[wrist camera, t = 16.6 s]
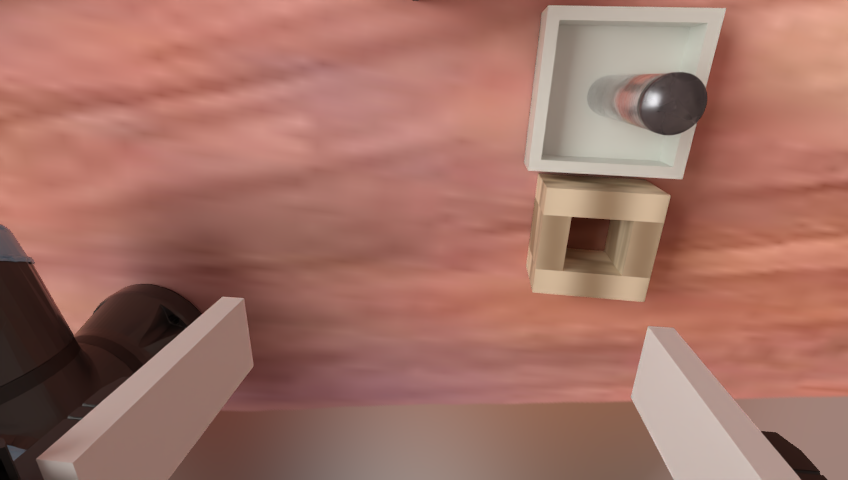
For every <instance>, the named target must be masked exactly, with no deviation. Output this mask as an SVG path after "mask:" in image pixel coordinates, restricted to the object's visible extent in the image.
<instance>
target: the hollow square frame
mask: <svg viewBox="0 0 848 480" xmlns="http://www.w3.org/2000/svg"><path fill="white" fill-rule="evenodd" d="M670 197H671V195H669V194H668V193H666V192H664V191H663V190H661V189H659V188H658V187H656V186H655V185H653V184H651V183H650V182H648V181H646V180H644V179H627V178H609V177H592V176H575V175H557V174H540V173H538V179H537V187H536V195H535V202H534V210H533V218H532V225H531V233H530V241H529V248H528V256H527V263H526V268H527V272H528V276H529V280H530V284H531V288H532V292H534V293H546V294H557V295H569V296H581V297H592V298H604V299H615V300H627V301H638V302H644V301H645V297H646V293H647V289H648V285H649V281H650V277H651V273H652V269H653V265H654V261H655V257H656V253H657V249H658V245H659V241H660V237H661V233H662V229H663V225H664V221H665V217H666V213H667V209H668V205H669V201H670ZM572 217H583V218H597V219H610V224H609V229H608V234H607V239H606V244H605V249H604V251H599V250H586V249H573V248H567V242H568V236H569V230H570V224H571V218H572Z"/></svg>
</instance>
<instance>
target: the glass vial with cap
mask: <svg viewBox="0 0 848 480" xmlns="http://www.w3.org/2000/svg"><path fill="white" fill-rule="evenodd" d="M587 102H588V105H589V107H590V109H591V110H592V111H593V112H594V113H596V114H598V115H601V116H605V117H608V118H611V119H615V120H618V121H621V122H624V123H628V124H631V125H634V126H637V127H641V128H644V129H647V130H649V131H652V132H654V133H657V134H661V135H676V134H680V133H682V132H685V131H686V130H688V129H690V128H691V127H692V126H694V125H695V124H696V123H697V122H698V120H699V119H700V118H701V116H702V115H703V113H704V111H705V108H706V104H707V92H706V88H705V86H704V84H703V83H702V81H701V80H700V79H699V78H698V77H696V76H695V75H693V74H690V73H686V72H670V73H662V74H628V75H606V76H602V77H600V78H599V79H597V80H596V81H595V82H594V83H593V84H592V85H591V87H590V88H589V91H588V94H587Z"/></svg>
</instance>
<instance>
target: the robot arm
mask: <svg viewBox="0 0 848 480" xmlns="http://www.w3.org/2000/svg"><path fill="white" fill-rule="evenodd" d="M34 263H35V262H34V260H33V259H32V258H30V257H28V256H27V255H26V253H25V252H24V250H23V249H22V247H21V246H20V244H19V243H18V241H17V240H16V238H15V236H14V235H13V233H12V232H11V231H10V230H9V229H8V228H7V227H5V226H3V225H1V224H0V480H168V479H169V477H170V476H171V475H172V474H173V472H174V471H175V470H176V468H177V467H178V466H179V464H180V463H181V461H182V460H183V459H184V458H185V456H186V455H187V454H188V452H189V451H190V450H191V448H192V447H193V446H194V444H195V443H196V442H197V440H198V439H199V438H200V437H201V435H202V434H203V432H204V431H205V430H206V429H207V427H208V426H209V425H210V423H211V422H212V421H213V419H214V418H215V417H216V415H217V414H218V412H219V411H220V410H221V409H222V407H223V406H224V405H225V403H226V402H227V401H228V400H229V398H230V397H231V396H232V394H233V393H234V392H235V390H236V389H237V388H238V386H239V385H240V384H241V382H242V381H243V380H244V378H245V377H246V376H247V374H248V373H249V372H250V370H251V369H252V368H253V366H254V364H253V357H252V350H251V343H250V336H249V329H248V322H247V315H246V308H245V301H244V298H236V297H221V298H220V299H219V300H218V301H217V302H216V303H215V304H213V305H212V306H211V307H210V308H209V309H208V310H206V311H205V312H204V313H203V314H202V315H201V313H200V312H199V311H198V310H197V309H196V308H195V307H194V306H193V305H192V304H191V303H190V302H188V301H187V300H186V299H184V298H183V297H181V296H180V295H178V294H176V293H174V292H172V291H170V290H168V289H165V288H162V287H159V286H155V285H148V284H138V285H132V286H128V287H125V288H123V289H121V290H120V291H118V292H116V293H114V294H113V295H111V296H109V297H108V298H106V299H105V300H104V301H103V302H101V303H100V305H99V306H98V307H97V308H96V310H95V311H94V313H93V315H92V316H91V317H90V318H89V319H88V320H87V322H86V323H85V324H84V325H83V326H82V327H81V328H80V330H79V331H78V332H77V333H76V334H75V335H73V333H72V331H71V330H70V328H69V326H68V324H67V323H66V321H65V319H64V318H63V316H62V314H61V312H60V311H59V309H58V307H57V305H56V304H55V302H54V300H53V298H52V297H51V295H50V293H49V291H48V290H47V288H46V286H45V284H44V283H43V281H42V279H41V277H40V276H39V274H38V272H37V271H36V269H35V267H34V265H33V264H34ZM631 399H632V400H633V402H634V404H635V406H636V408H637V410H638V412H639V414H640V416H641V418H642V420H643V422H644V424H645V426H646V427H647V429H648V431H649V433H650V435H651V437H652V439H653V441H654V443H655V445H656V447H657V449H658V451H659V453H660V454H661V456H662V458H663V460H664V462H665V464H666V466H667V468H668V470H669V472H670V474H671V476H672V478H673V480H827V479H826V478H825V477H824V476H823V475H820V471H819V470H818V469H817V468H816V467H815V466H814V464H813V463H812V462H811V461H810V460H809V459H808V458H807V457H806V456H805V455H804V453H803V452H802V451H801V450H799V449H798V448H797V447H795V446H794V445H793V444H791V443H790V442H788V441H787V440H786V439H784V438H783V437H782V436H780V435H779V434H778V433H776V432H765V431H760V430H759V429H758V428H757V426H756V425H755V424H754V423H753V422H752V420H751V419H750V418H749V417H748V416H747V415H746V413H745V412H744V411H743V410H742V409H741V408H740V407H739V405H738V404H737V403H736V401H735V400H734V399H733V398H732V397H731V395H730V394H729V393H728V392H727V391H726V390H725V388H724V387H723V386H722V385H721V384H720V382H719V381H718V380H717V379H716V378H715V376H714V375H713V374H712V373H711V372H710V370H709V369H708V368H707V367H706V366H705V365H704V363H703V362H702V361H701V360H700V359H699V357H698V356H697V355H696V354H695V353H694V351H693V350H692V349H691V348H690V347H689V346H688V344H687V343H686V342H685V341H684V340H683V338H682V337H681V336H680V335H679V334H678V332H677V331H676V330H675V329H674V328H669V327H655V326H648V328H647V332H646V336H645V341H644V345H643V349H642V353H641V357H640V361H639V366H638V370H637V374H636V378H635V382H634V386H633V390H632V395H631Z"/></svg>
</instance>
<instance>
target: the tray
mask: <svg viewBox="0 0 848 480" xmlns="http://www.w3.org/2000/svg"><path fill="white" fill-rule="evenodd" d="M725 11H726V8H686V7H624V6H563V5H548V6H547V7H546V8H545V10H544V11H543V12H542V13H541V22H540V30H539V39H538V47H537V56H536V64H535V73H534V81H533V90H532V98H531V107H530V115H529V124H528V132H527V141H526V149H525V158H524V163H525V165H526V167H527V169H528V171H545V172H562V173H580V174H597V175H615V176H632V177H650V178H667V179H683V175H684V171H685V167H686V163H687V159H688V156H689V152H690V148H691V144H692V140H693V136H694V132H695V128H696V124H697V123H696V124H695V125H694V126H692V127H691V128H690V129H688V130H686V131H685V132H682V133H680V134H676V135H661V134H657V133H654V132H652V131H649V130H647V129H644V128H641V127H637V126H634V125H631V124H628V123H624V122H621V121H618V120H615V119H611V118H608V117H605V116H601V115H598V114H596V113H594V112H593V111H592V110H591V109H590V107H589V105H588V102H587V94H588V91H589V88H590V87H591V85H592V84H593V83H594V82H595V81H596V80H597V79H599V78H600V77H602V76H606V75H628V74H662V73H670V72H686V73H690V74H693V75H695V76H696V77H698V78H699V79H700V80H701V81H702V83H703V84H704V86H705V88H706V85H707V81H708V77H709V74H710V70H711V66H712V62H713V58H714V54H715V50H716V46H717V42H718V38H719V34H720V31H721V27H722V23H723V19H724V15H725Z"/></svg>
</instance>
